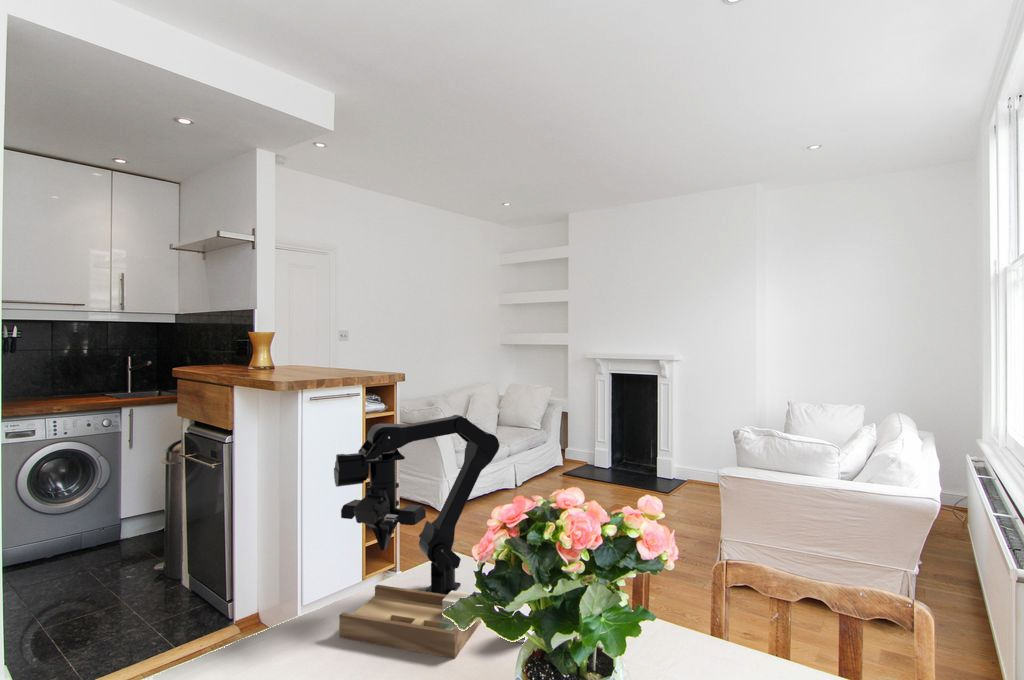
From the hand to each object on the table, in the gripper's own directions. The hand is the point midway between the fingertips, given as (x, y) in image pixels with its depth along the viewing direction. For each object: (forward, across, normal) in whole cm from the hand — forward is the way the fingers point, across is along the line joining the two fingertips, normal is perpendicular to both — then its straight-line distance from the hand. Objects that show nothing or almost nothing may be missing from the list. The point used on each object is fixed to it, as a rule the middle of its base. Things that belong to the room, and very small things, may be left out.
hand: (383, 549), depth 122 cm
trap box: (+12, +11, -8) cm, 18 cm away
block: (+10, +20, -5) cm, 23 cm away
